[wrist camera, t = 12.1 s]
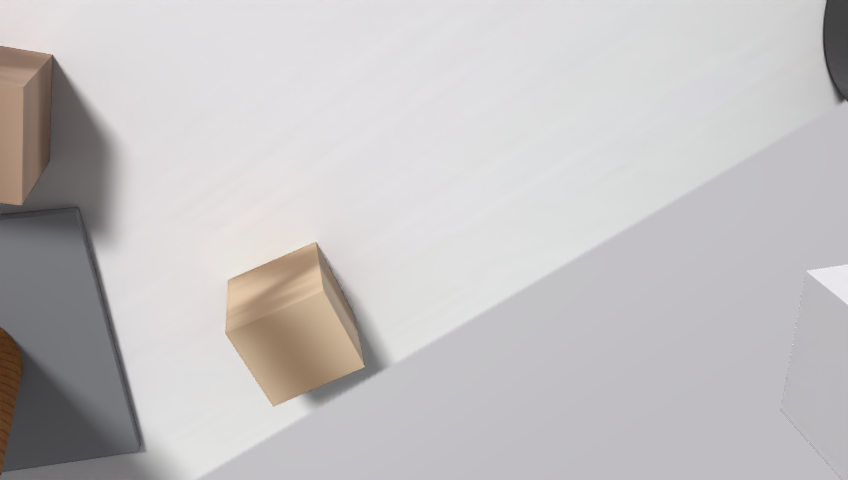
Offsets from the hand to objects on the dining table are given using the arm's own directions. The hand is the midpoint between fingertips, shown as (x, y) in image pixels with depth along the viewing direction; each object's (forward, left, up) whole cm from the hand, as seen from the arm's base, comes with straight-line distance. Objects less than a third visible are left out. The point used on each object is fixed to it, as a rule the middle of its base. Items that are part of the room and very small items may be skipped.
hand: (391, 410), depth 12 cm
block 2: (+2, +14, -27) cm, 31 cm away
